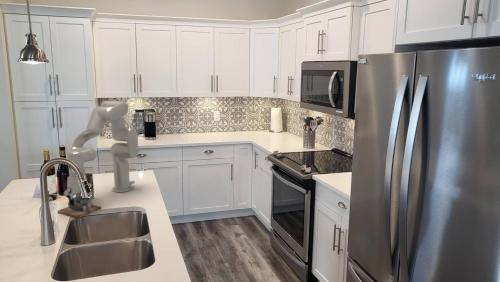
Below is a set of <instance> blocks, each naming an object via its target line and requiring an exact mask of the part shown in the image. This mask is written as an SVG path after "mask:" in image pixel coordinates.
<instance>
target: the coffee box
mask: <svg viewBox="0 0 500 282" xmlns="http://www.w3.org/2000/svg"><path fill="white" fill-rule="evenodd" d="M84 174H85V175H86V178H87V182H88V183H89V184H92V186H91V192H92V196H91V197H90V198H89V200H88V203H89V202H91V201H92V200H94V199H95V190H94V188H95V187H94V176H93V173H91V172H89V173H88V172H84ZM77 196H80V197H82V196H81V193H78V194H75V197H77Z"/></svg>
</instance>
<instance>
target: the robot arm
mask: <svg viewBox="0 0 500 282" xmlns="http://www.w3.org/2000/svg"><path fill="white" fill-rule="evenodd" d="M128 112H129V104H128V103H127V102H126V101H123V100H122V101H121V100H104V101H102V102H101V104H100V106H96V107H94V108H93V110H92V111H91V114H90V116H89V120H88V122H87V126H86V128H85V129H84V130H83V131H82V132H81V133H80V134H79V135H78V136H77V137H76V138H75V139H74V140H73V142H72V145H71V147H70V151H68V153H67V160H68V159H69V160H71V161H73V162H74V163H75V164H77V165H78V166H79V167H80V168H81V170H82V172H83V174H84V173H85V172H86V168H85V163H87V162H89V163H90V162H92V161H94V160H96V158H97V154H98V153H97V151H96V150H95V149H94V148H91V147H84V145H85V144H86V143H87V142H89V141H90V140H91V139H95V138H97V137H98V136H99V137H100V136H101V134H102V132H103V129H104V127H105V124H106V122H110V124H111V126H110V127H111V136H112V139H113V140H114V141H116V143H112V145H111V147H110V154H111V157H112V163H113V177H114V178H113V179H114V182H113V183H114V187H112V191H113V192H114V193H127V192H130V191H132V190H133V186H132V185H134V184H135V183H136V182H135V180H131V181H130V163H129V160H128V159H135V158H137V156H138V155H139V139H138V138H139V137H138V131H137V130H136V129H135V128H134V127H132V126H126V120H125V115H127V113H128ZM117 141H118V142H117ZM68 175H69V176H67V184H66V185H67V189H66V190H65V191H64V192H63V195H64V196H65V198H67V199H68V202H69V205H72V206H74V199H73V198H74V197H75V196H76V194H78V193H81V190H80V186H79V182H78V178H77V176H76V174H75V173H74V172H73V171H72V169H70V168H69V167H68ZM84 176H85V179H86V181H87V178H86V175H85V174H84ZM88 185H89V187H90V189H91V186H92V184H89V183H88ZM88 200H89V198H88Z"/></svg>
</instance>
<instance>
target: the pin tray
mask: <svg viewBox="0 0 500 282" xmlns="http://www.w3.org/2000/svg"><path fill="white" fill-rule="evenodd" d="M67 205H68V206H67V207H64V208H62V209H59V210H57V211H58V213H57V214H60V215H64V216H67V217H70V218H74V219H80V218H82V217H84V216H87V215H89V214H91V213H95V212H96V211H98V210H101V209H102V206H100V205H97V204H91V203H88V205H87V207H88V209H86V206H83V211H77V210H73V209H71V205H69V201H68V202H67Z"/></svg>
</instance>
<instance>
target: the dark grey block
mask: <svg viewBox="0 0 500 282" xmlns="http://www.w3.org/2000/svg"><path fill="white" fill-rule="evenodd" d="M73 199H74V206H72V205H71V209H73V210H77V211H83V206H86V209H88V207H87V205H88V204H89V202H88V198H82V197H80V196H77V197H76V196H74V197H73Z"/></svg>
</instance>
